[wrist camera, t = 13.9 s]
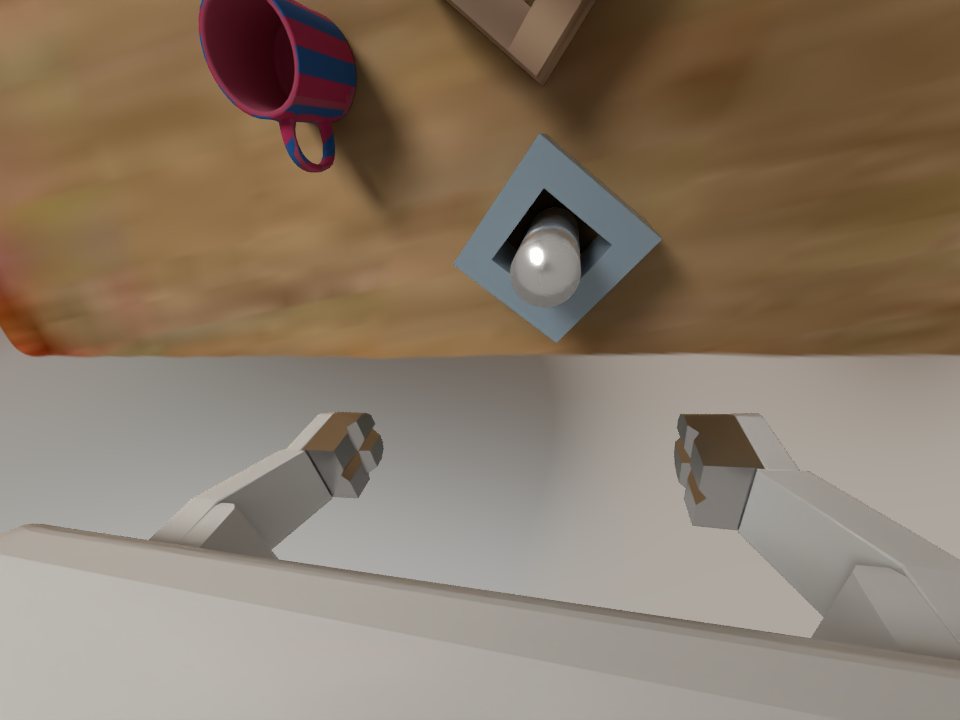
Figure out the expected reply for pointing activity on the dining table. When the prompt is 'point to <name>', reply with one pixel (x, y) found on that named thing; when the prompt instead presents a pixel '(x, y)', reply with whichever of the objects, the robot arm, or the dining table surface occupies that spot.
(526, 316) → the socket
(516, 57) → the mount
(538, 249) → the pin
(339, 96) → the mug
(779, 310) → the dining table surface
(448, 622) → the robot arm
